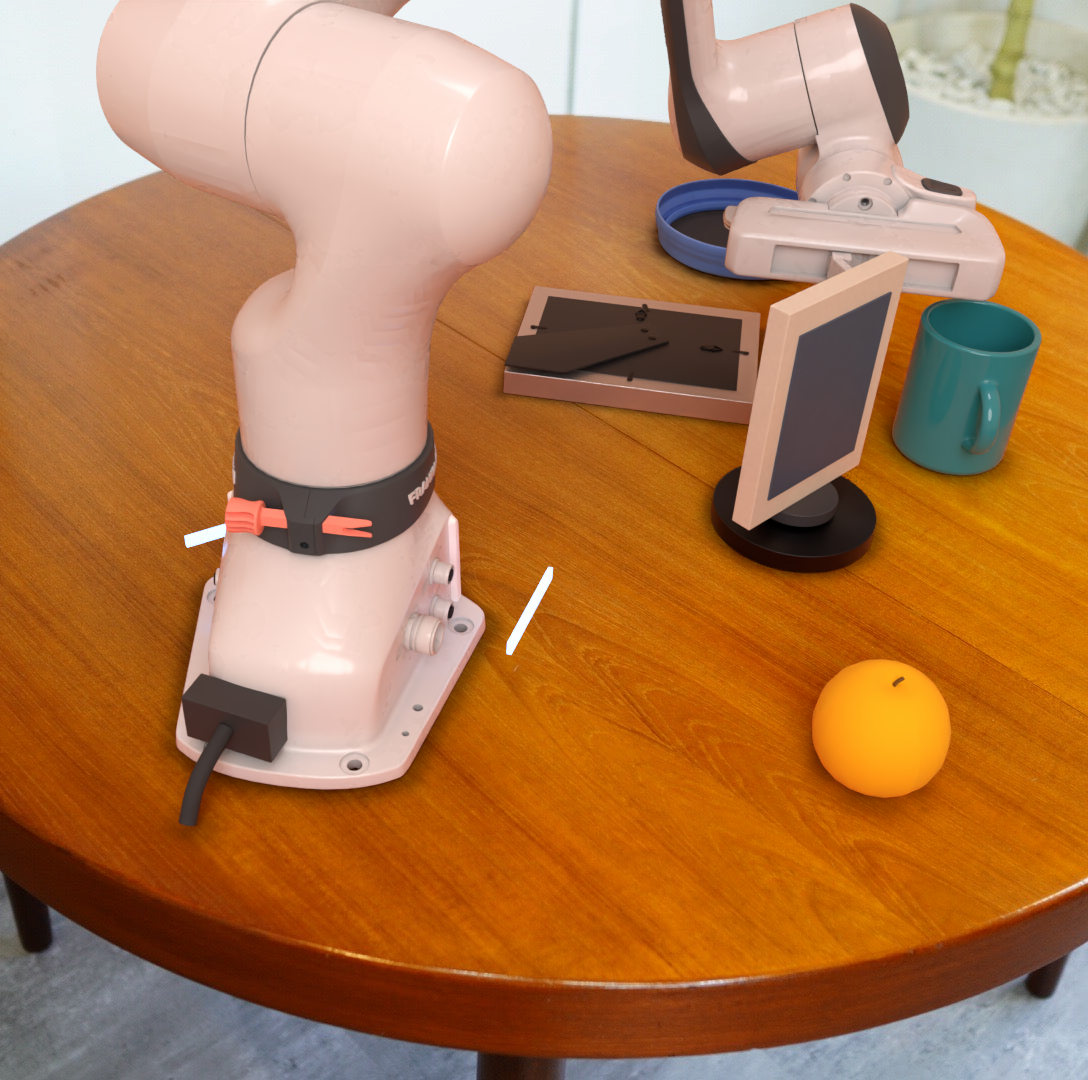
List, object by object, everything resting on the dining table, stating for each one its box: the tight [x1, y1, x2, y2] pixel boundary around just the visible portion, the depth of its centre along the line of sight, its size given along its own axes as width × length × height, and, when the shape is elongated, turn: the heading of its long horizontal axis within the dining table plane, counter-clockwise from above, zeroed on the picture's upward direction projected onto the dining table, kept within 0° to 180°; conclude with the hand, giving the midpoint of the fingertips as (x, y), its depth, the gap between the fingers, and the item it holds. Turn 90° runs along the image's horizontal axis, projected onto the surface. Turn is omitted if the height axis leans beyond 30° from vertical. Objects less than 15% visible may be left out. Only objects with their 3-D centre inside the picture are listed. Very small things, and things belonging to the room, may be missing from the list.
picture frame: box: [503, 285, 761, 426], centre depth 115 cm, size 16×3×21 cm
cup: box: [891, 298, 1043, 476], centre depth 103 cm, size 9×12×11 cm
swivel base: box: [710, 465, 877, 574], centre depth 98 cm, size 12×12×2 cm
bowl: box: [654, 177, 798, 281], centre depth 134 cm, size 18×18×4 cm
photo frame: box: [732, 251, 909, 530], centre depth 92 cm, size 6×13×18 cm, turn 133°
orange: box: [811, 658, 952, 799], centre depth 77 cm, size 8×8×8 cm
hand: (868, 297), depth 93 cm, fingers closed
